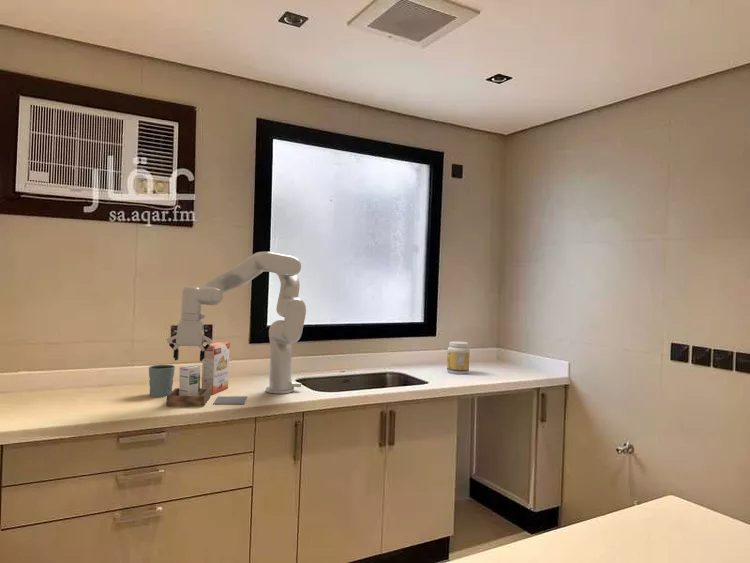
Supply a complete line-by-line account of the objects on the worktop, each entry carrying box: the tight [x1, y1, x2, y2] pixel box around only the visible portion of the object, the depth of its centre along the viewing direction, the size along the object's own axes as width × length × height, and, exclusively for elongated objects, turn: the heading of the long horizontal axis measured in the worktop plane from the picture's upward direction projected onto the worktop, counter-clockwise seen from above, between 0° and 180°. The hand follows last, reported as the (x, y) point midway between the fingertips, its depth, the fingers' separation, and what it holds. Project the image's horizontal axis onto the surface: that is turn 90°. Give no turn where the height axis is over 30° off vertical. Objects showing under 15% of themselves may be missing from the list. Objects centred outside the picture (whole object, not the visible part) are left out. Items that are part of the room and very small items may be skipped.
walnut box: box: [166, 387, 212, 407], centre depth 208 cm, size 14×14×4 cm
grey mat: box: [212, 395, 248, 406], centre depth 212 cm, size 12×12×1 cm
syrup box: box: [178, 364, 201, 396], centre depth 208 cm, size 6×6×14 cm
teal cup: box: [148, 364, 176, 398], centre depth 219 cm, size 10×10×12 cm
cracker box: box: [201, 341, 231, 395], centre depth 228 cm, size 14×6×21 cm, turn 168°
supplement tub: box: [446, 340, 471, 375], centre depth 290 cm, size 12×12×17 cm
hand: (188, 360), depth 208 cm, fingers open, 9 cm apart
